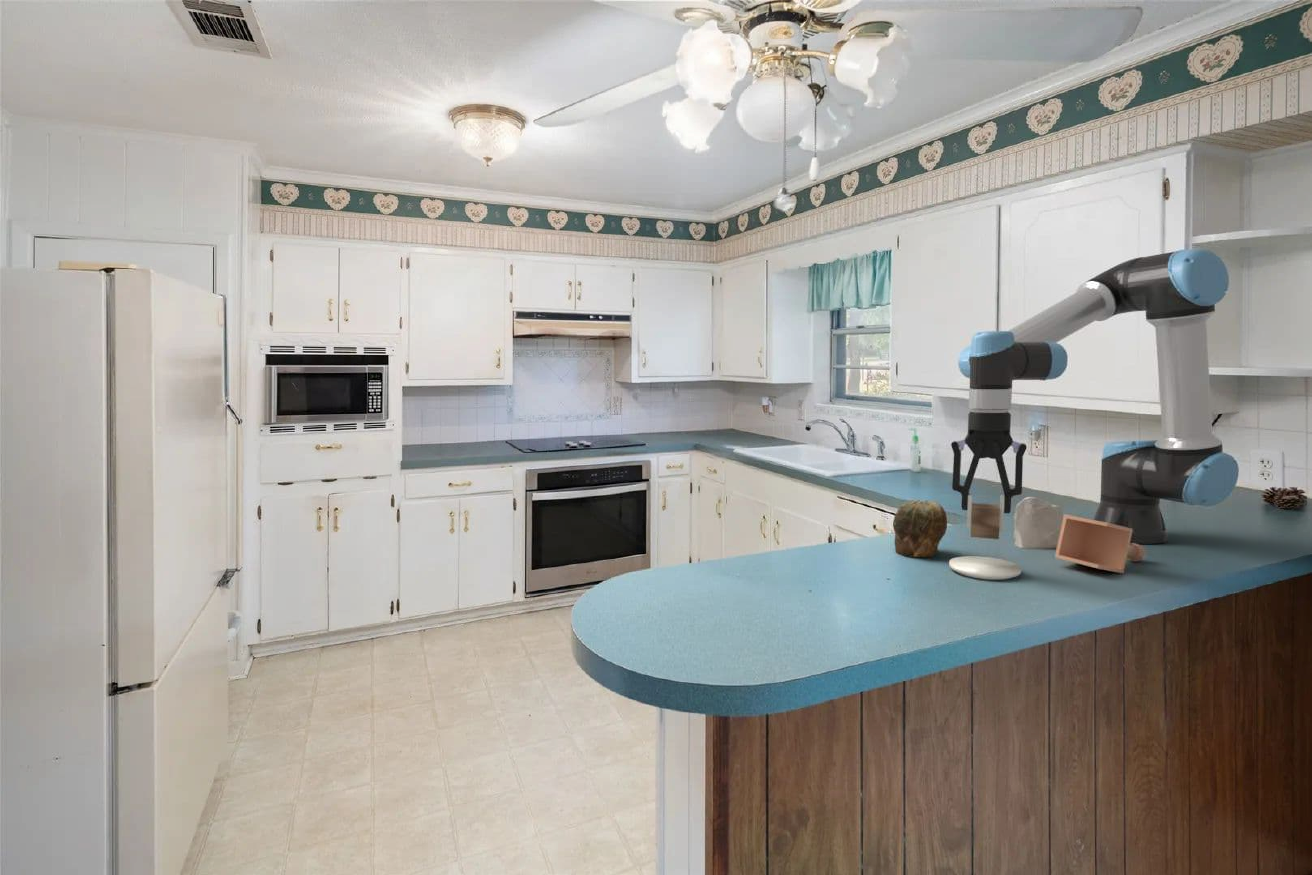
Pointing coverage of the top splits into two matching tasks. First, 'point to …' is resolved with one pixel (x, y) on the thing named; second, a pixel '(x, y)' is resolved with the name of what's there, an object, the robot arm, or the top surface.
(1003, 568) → the dish
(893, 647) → the top surface
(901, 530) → the brown rounded lump
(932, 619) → the top surface
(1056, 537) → the stone
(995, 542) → the top surface
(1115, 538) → the cover
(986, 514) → the block
